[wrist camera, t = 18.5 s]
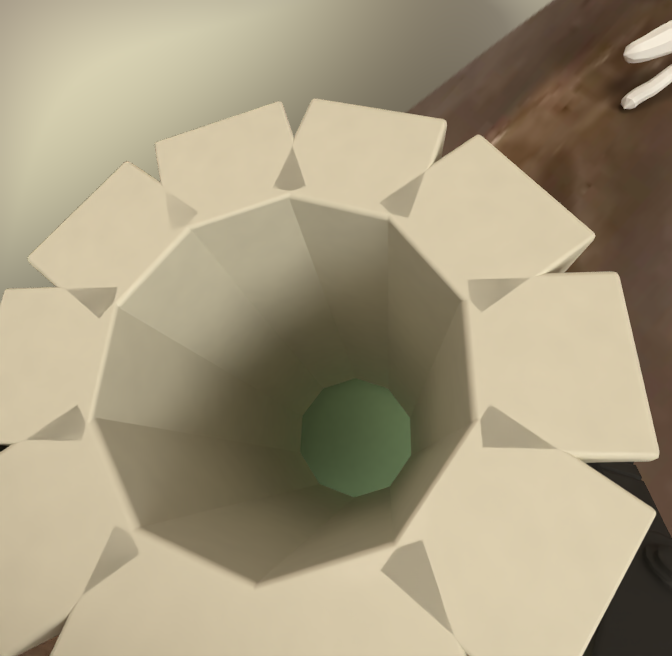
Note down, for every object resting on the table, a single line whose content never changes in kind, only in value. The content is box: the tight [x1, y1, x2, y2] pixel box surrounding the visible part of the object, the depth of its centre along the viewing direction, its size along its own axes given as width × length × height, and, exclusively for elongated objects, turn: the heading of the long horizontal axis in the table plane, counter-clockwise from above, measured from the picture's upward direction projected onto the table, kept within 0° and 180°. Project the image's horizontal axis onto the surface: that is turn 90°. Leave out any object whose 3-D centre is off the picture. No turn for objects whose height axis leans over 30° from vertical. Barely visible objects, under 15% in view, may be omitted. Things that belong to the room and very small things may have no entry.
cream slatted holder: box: [0, 99, 659, 656], centre depth 10 cm, size 8×8×12 cm
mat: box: [300, 378, 411, 497], centre depth 19 cm, size 14×14×1 cm
